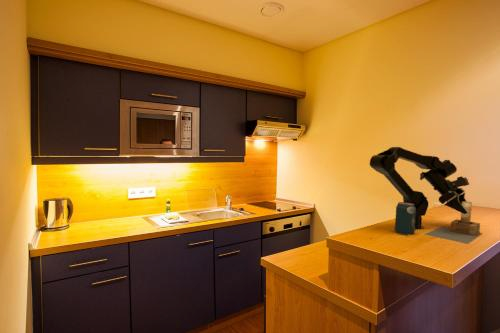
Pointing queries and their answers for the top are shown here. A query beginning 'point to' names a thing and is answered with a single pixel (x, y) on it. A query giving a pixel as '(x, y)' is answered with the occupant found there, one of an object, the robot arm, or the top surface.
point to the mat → (452, 235)
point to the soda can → (405, 218)
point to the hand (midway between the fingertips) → (468, 212)
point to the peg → (467, 217)
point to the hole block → (465, 228)
